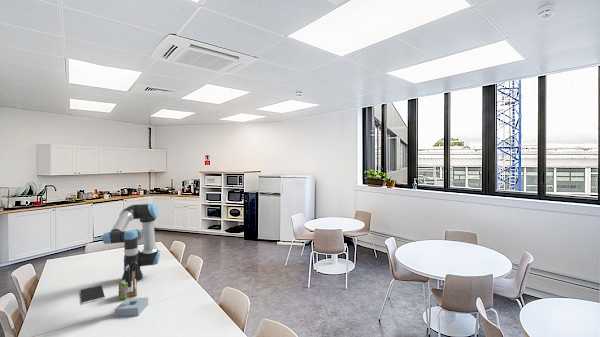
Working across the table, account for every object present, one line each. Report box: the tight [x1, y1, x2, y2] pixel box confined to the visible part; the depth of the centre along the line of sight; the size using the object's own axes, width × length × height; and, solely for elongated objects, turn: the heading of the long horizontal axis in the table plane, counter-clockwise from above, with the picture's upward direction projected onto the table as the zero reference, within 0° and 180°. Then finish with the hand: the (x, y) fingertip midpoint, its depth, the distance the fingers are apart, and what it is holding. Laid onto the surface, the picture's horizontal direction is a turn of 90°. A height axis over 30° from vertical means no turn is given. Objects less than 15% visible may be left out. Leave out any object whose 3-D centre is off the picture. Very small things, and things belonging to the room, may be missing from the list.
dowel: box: [129, 271, 135, 298], centre depth 184 cm, size 4×4×16 cm
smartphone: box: [80, 284, 106, 305], centre depth 208 cm, size 13×27×2 cm, turn 40°
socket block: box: [114, 297, 149, 318], centre depth 184 cm, size 14×14×5 cm
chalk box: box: [118, 279, 138, 302], centre depth 204 cm, size 9×9×15 cm
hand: (131, 289), depth 184 cm, fingers closed on dowel, 3 cm apart
